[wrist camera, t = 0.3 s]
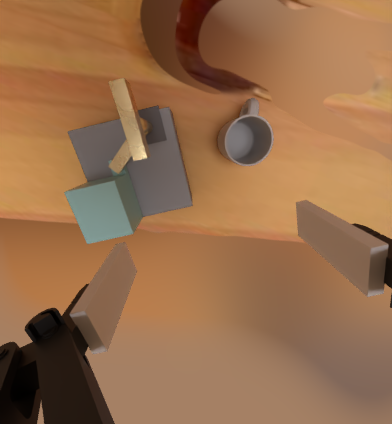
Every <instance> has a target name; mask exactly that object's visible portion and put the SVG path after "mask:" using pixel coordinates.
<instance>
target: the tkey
mask: <svg viewBox="0 0 392 424" xmlns="http://www.w3.org/2000/svg"><path fill="white" fill-rule="evenodd" d="M109 85H110V88H111V91H112V94H113V97H114V101H115V104H116V107H117V110H118V113H119V116H120V120H121V123H122V126H123V129H124V132H125V135H126V138H127V139H126V141H125V142H124V144H123V145H122V147H121V148H120V150H119V151H118V153H117V154H116V156H115V157H114V159H113V160H112V161H111V163H110V164H109V166H108V167H109V168H111V169H112V170H113V171H115V172H116V173H118V174H120V173H121V172H122V170H123V169H124V167H125V166H126V165H127V163H128V162H129V160H130V159H131V157H133V161H136V160H141V159H145V158H148V157H150V156H151V155H150V151H149V148H148V144H147V141H146V136H147V134H148V133H150V132H151V131H152V129H153V126H152V124H151V122H149V121H147V120H145V119H143V118H140V117H139V113H138V110H137V106H136V103H135V99H134V96H133V92H132V89H131V85H130V83H129V82H128V81H127V80H126V79H125V78H121V79H117V80H113V81H109Z"/></svg>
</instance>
